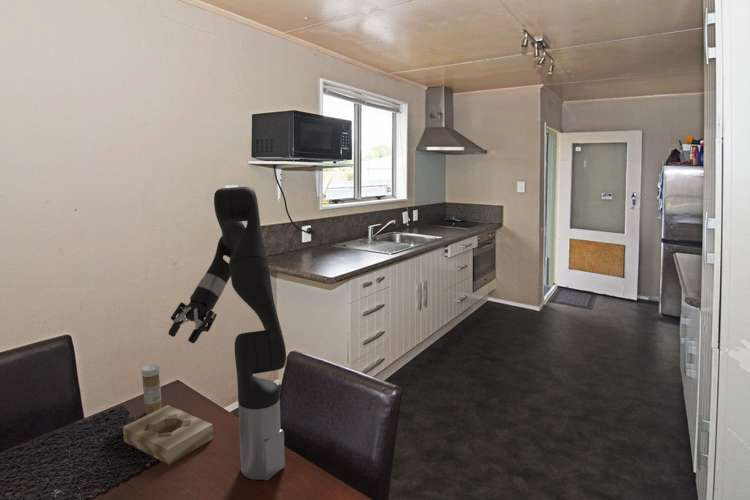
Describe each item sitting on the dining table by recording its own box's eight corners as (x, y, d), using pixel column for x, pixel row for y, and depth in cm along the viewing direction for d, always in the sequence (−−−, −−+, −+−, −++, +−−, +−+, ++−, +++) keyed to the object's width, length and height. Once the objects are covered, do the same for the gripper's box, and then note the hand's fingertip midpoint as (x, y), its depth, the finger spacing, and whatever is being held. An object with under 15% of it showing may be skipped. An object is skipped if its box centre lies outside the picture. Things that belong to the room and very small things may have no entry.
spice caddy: (213, 438, 124) (212, 424, 123) (168, 464, 113) (167, 449, 112) (169, 418, 133) (168, 405, 132) (124, 441, 122) (122, 426, 121)
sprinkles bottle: (159, 405, 140) (156, 362, 137) (164, 412, 136) (161, 367, 134) (142, 410, 137) (139, 366, 134) (147, 417, 133) (143, 372, 131)
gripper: (185, 281, 149) (156, 328, 142) (218, 289, 142) (189, 339, 135) (199, 293, 155) (172, 338, 148) (232, 301, 148) (205, 349, 141)
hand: (180, 338), depth 142 cm, fingers open, 8 cm apart
